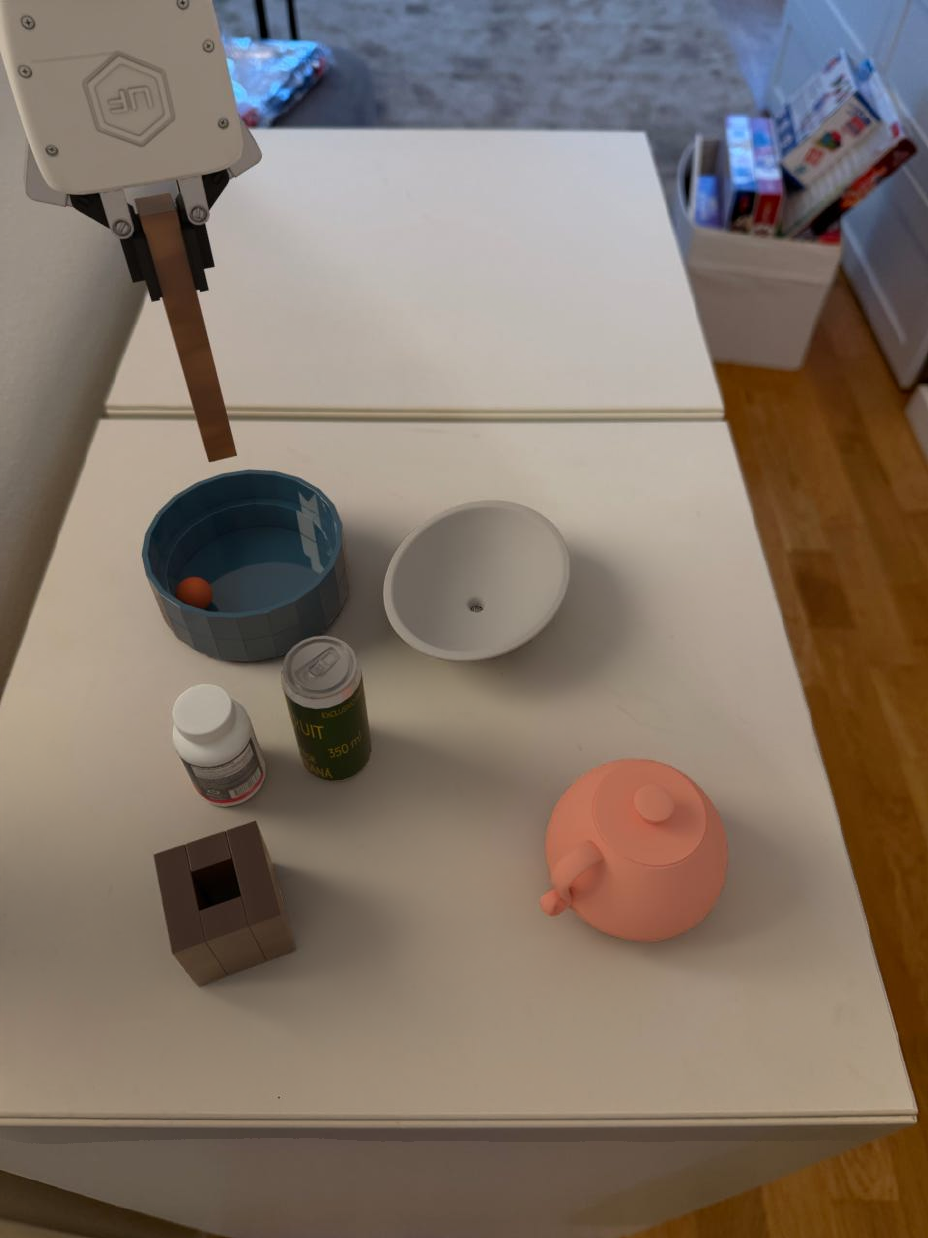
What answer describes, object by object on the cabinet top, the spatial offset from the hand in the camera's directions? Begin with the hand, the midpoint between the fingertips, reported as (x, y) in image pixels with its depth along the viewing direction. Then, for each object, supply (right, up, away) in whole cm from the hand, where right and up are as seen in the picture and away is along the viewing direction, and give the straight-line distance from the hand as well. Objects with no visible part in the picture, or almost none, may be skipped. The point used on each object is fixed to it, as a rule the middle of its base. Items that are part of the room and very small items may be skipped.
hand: (175, 281), depth 54 cm
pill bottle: (-1, -32, +15) cm, 35 cm away
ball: (-6, -18, +23) cm, 30 cm away
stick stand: (+1, -40, +9) cm, 41 cm away
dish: (+18, -19, +25) cm, 36 cm away
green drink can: (+7, -30, +17) cm, 35 cm away
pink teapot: (+28, -38, +11) cm, 48 cm away
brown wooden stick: (0, -8, +11) cm, 13 cm away
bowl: (-1, -17, +26) cm, 31 cm away
